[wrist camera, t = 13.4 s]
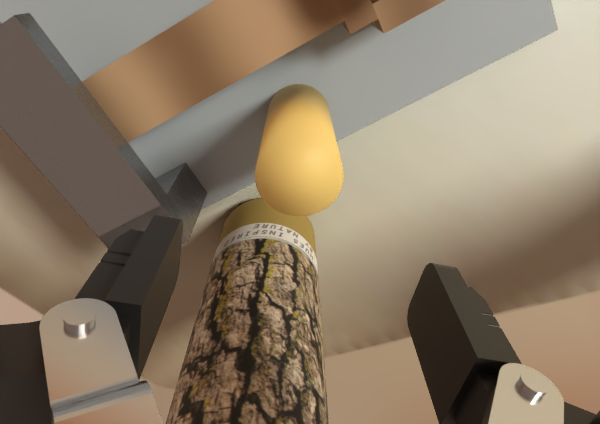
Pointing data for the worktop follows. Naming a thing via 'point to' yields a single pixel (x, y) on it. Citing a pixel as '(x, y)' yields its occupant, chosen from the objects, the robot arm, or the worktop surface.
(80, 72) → the board
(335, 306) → the worktop surface
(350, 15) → the link
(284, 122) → the pin
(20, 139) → the keeper
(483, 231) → the worktop surface
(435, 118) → the worktop surface
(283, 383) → the brown bark-textured cylinder
